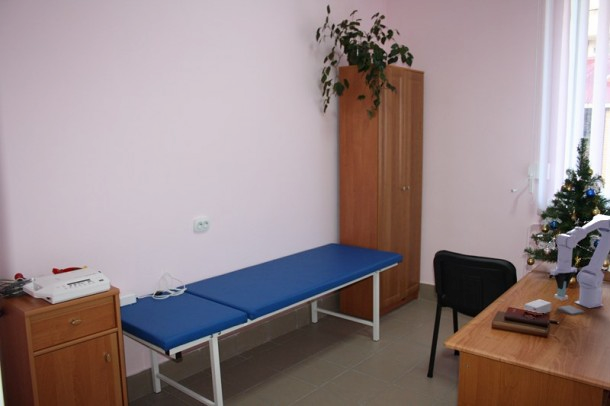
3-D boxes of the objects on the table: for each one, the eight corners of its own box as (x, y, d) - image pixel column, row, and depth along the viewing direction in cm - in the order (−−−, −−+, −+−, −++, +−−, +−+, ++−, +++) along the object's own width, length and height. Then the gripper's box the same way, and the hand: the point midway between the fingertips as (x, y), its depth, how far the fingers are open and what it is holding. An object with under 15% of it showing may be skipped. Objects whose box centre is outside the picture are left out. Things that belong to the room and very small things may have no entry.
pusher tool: (560, 296, 221) (561, 279, 220) (567, 299, 217) (569, 281, 216) (554, 297, 220) (555, 280, 218) (561, 300, 216) (562, 282, 215)
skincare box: (539, 307, 220) (523, 313, 214) (539, 298, 219) (523, 303, 213) (551, 311, 215) (535, 317, 209) (552, 302, 214) (536, 307, 208)
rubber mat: (569, 306, 221) (569, 305, 220) (584, 312, 213) (584, 311, 213) (556, 309, 218) (556, 307, 218) (571, 315, 210) (572, 313, 210)
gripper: (568, 256, 222) (566, 283, 224) (545, 259, 217) (543, 287, 219) (581, 260, 215) (579, 288, 217) (558, 263, 210) (556, 292, 212)
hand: (562, 288), depth 217 cm, fingers closed on pusher tool, 2 cm apart
